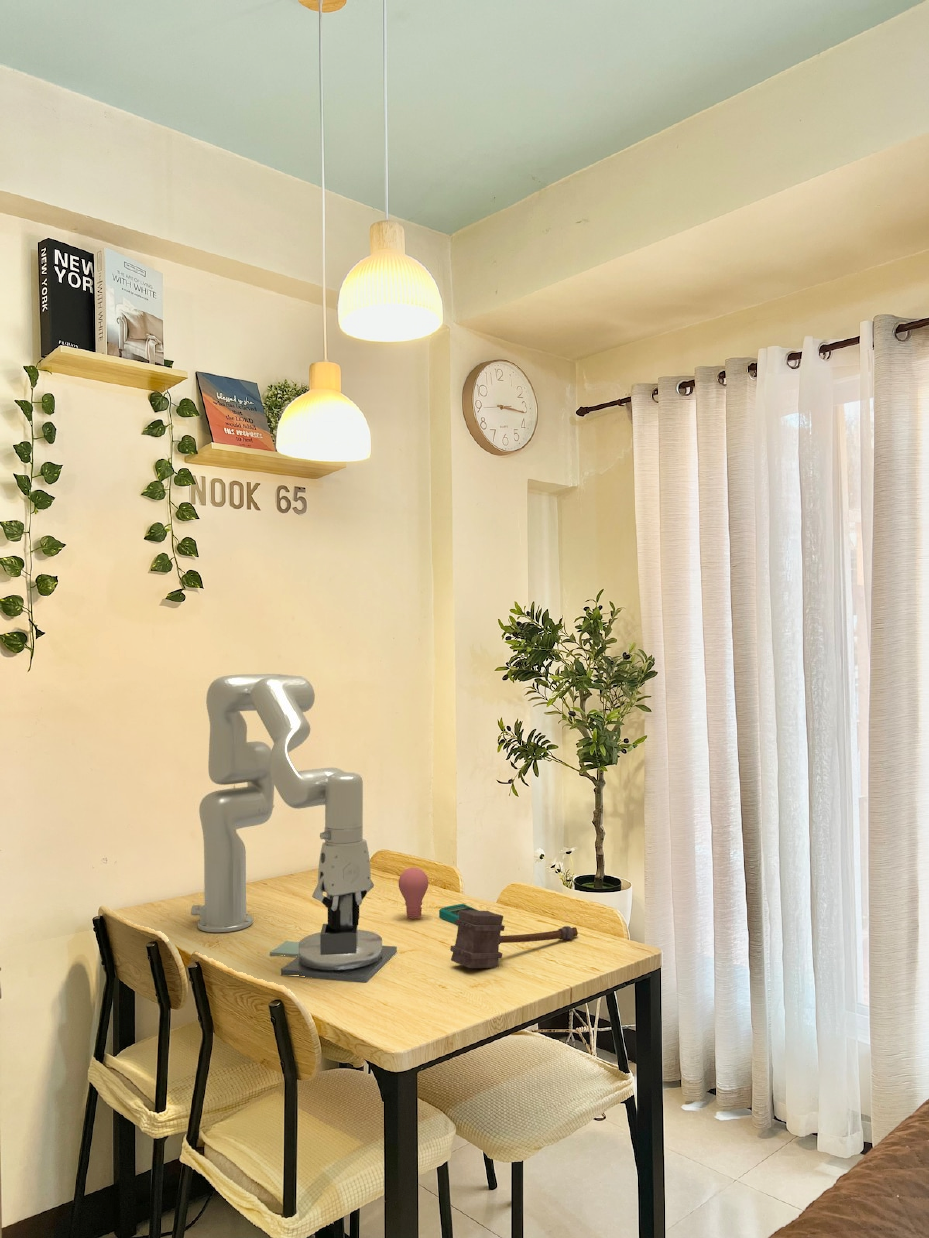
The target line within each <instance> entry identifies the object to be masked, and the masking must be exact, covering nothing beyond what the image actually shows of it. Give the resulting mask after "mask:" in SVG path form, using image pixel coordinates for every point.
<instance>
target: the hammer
mask: <svg viewBox="0 0 929 1238" xmlns="http://www.w3.org/2000/svg"><path fill="white" fill-rule="evenodd" d="M503 920H504V916H503V915H501V914H498V913H494V912H492V911H489V910H479V911H470V910H460V911H459V919H455V924H454V925H456V924H457V925H456V926H457V933H456V938H455V943H454V945H451V946H450V949H449V950H450V952H452V955H451V958H450V960H451V961H452V962H454V963H456V964H459V965H462V966H464V967H466V968H469V969H489V968H491V969H492V968H499V960H500V959H502V958H503V952H500V951H499V949H500V945H501V944H505V943H506V944H507V943H510V944H511V943H514V944H515V943H529V942H540V941H541V942H542V941H550V940H565V941H571V940H572V939H573V938H575V937H577V936H579V935H578V934H579V932H578V929H577V927H576V926H575V927H574V926H573V927H571V926H568V925H567V926H566V925H565V926H562V927H561V928H558V929H557V930H551V931H544V932H537V933H536V932H535V933H528V934H527V933H525V934H524V933H523V934H511V935H510V934H509V935H501V932H504V931H505V926H506V925H503Z"/></svg>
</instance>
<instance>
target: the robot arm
mask: <svg viewBox="0 0 929 1238" xmlns="http://www.w3.org/2000/svg"><path fill="white" fill-rule="evenodd" d="M315 695H316V694H315V690H314V687H313V685H312V683H311V682H310V681H309V680H308V679H307V678H306V677H303V676H301V675H288V674H281V673H257V674H253V673H251V674H250V673H249V674H247V673H246V674H231V675H224V676H220V677H217V678H216V679H214V680H213V681H212V682H211V683H210V685H209V687H208V689H207V693H206V700H205V701H206V710H207V713H208V714H207V715H208V720H209V739H208V741H209V742H208V743H209V744H208V760H207V761H208V776H209V778H210V780H211V782H212V783H214V784H216V785H219V786H220V785H223V786H226V785H235V784H236V785H237V784H244V783H247V784H246V785H247V786H243V787H233V788H226V789H218V790H214V791H211V792H210V793H208V794H206V795H205V796H204V797H203V798H202V799H201V801H200V804H199V810H198V812H199V819H200V823H201V830H202V837H203V839H202V840H203V864H204V865H203V868H204V869H203V874H204V876H203V877H204V886H203V887H204V888H203V889H204V890H203V891H204V895H203V897H204V904H203V905H202V904H201V905H200V904H193V905H191V909H190V916H197V917H198V916H199V917H200V919H199V920H198V921H197V928H198V929H199V930H200V931H203V932H207V933H229V932H235V931H240V930H244V929H247V928H248V927H250V926H251V925H253V923H254V918H253V916H252V915H250V913H249V914H248V913H247V861H246V860H247V855H246V854H247V852H246V850H247V849H246V846H245V843H244V841H243V839H242V838H241V837H240V836H239V834H238V832H237V830H240V829H243V828H249V827H254V826H259V825H262V824H265V823H266V822H267V823H268V821H269V820H270V818H271V817H272V814H273V809H274V799H275V796H274V795H275V789H276V791H277V792H278V795H280V796H279V797H280V798H281V799H282V801H283V802H284V803H285V804H286V805H287V806H288V807H291V808H292V809H307V808H313V807H317V806H325V807H324V808H325V809H324V810H325V811H324V814H325V815H324V820H325V821H324V831H323V832H320V833H319V837H320V838H319V839H320V840H324V842H322V845H321V849H320V852H319V853H320V855H319V861H318V874H317V885H316V886H315V889H314V891H313V892H312V895H311V896H312V898H313V899H315V900H316V901H318V902H321V903H322V904H323V905H324V906H325V908H327V924H328V925H329V927H330V928H332V929H334V930H339V927H340V911H339V910H338V909H337V905H338V898H339V896H340V895H345V894H350V893H353V925H355V926H357V927H358V926H359V920H360V906H361V905H363V904H362V903H363V900H364V899H365V897H366V896H367V893H369V892H370V891H371V890H372V889H373V888H374V886H375V885H374V882H373V881H372V876H371V872H372V871H371V862H370V853H369V847H368V843H367V840H366V839H364V837H363V835H364V834H363V831H364V829H363V826H364V825H363V824H364V822H363V819H364V818H363V815H364V813H363V810H364V809H363V807H364V806H363V805H364V803H363V802H364V801H363V800H364V798H363V797H364V793H363V792H364V791H363V790H364V788H363V787H364V786H363V785H364V783H363V782H364V781H363V777H362V776H361V775H360V774H359V773H355V772H346V771H344V770H343V769H341V768H338V767H324V768H315V769H314V768H313V769H304V770H299V771H298V770H297V769H296V767H295V765H294V764H293V762H292V760H291V758H290V756H289V755H290V754H289V753H290V752H292V751H293V750H295V749H297V748H298V747H299V746H301V745H302V744H304V742H305V741H306V740H307V739H308V737H309V736H310V733H311V724H310V723H309V721H308V719H307V718H306V716H305V715H304V713H307V712H308V711H310V710H311V709H312V707H314V704H315V697H316V696H315ZM250 711H251V712H252V711H253V712H254V711H256V713H257V715H258V716H259V718H260V720H261V721H262V724H263V726H264V727H265V730H266V732H267V733H268V735H269V736H270V738H271V740H272V742H273V745H272V748H271V747H270V746H269V745H268V744H267V742H263V741H247V736H248V725H247V722H246V720H245V717H244V716H243V715H242V713H241V712H250ZM323 893H325V894H326V896H325V895H324V894H323Z"/></svg>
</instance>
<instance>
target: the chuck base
mask: <svg viewBox="0 0 929 1238" xmlns="http://www.w3.org/2000/svg"><path fill="white" fill-rule="evenodd" d="M396 952H397V953H398V946H394V945H393V946H392V945H382V956H381V958H380V959H379V960H377V961H376V962H374V963H371V964H369V965H366V966H362V967H358V968H353V969H345V970H322V969H315V968H311V967H307V966H305V965H303V964H302V963H300V961H299V956H298V957H294V959H292V960H291V961H290V962H289V963H287V964H286V965H284V966H283V967H282V968H281V969H280V976H282V975H299V976H305V977H304V978H306V977H312V978H311V979H318V978H320V979H319V980H330V979H334V980H333V981H342V982H343V981H345V982H357V983H367V982H368V981H369V980H371V979H372V977H373V976H374V975H375V974H377V973H378V972H379V970H380V969H382V968H383V967H384V966H386V965H385V963H386V962H387V961H388V960H389V959H390V958H391V957H392V956H393V955H394V956H395V955H396V954H397V953H396ZM395 953H396V954H395ZM394 956H393V957H394ZM393 957H392V958H393ZM392 958H391V959H392ZM391 959H390V960H391ZM390 960H389V961H390ZM389 961H388V962H389ZM388 962H387V963H388ZM387 963H386V964H387Z"/></svg>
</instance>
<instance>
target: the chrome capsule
mask: <svg viewBox="0 0 929 1238" xmlns="http://www.w3.org/2000/svg"><path fill="white" fill-rule="evenodd" d="M337 909H338V910H339V911H340V927H339V930H335V932H352V930H353V893H350V894H345V895H340V896H339V898H338V905H337Z"/></svg>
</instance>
